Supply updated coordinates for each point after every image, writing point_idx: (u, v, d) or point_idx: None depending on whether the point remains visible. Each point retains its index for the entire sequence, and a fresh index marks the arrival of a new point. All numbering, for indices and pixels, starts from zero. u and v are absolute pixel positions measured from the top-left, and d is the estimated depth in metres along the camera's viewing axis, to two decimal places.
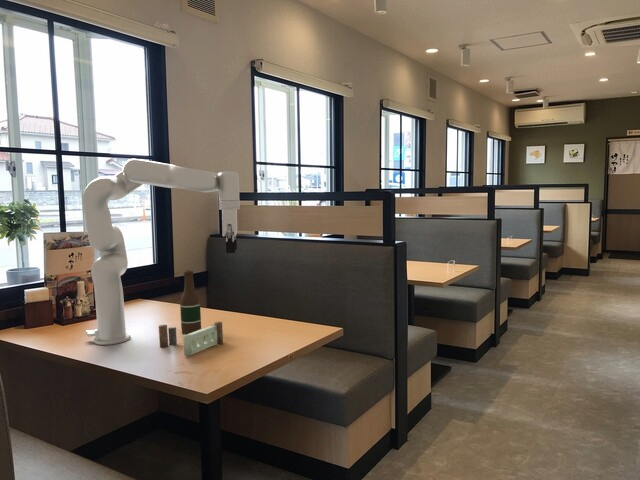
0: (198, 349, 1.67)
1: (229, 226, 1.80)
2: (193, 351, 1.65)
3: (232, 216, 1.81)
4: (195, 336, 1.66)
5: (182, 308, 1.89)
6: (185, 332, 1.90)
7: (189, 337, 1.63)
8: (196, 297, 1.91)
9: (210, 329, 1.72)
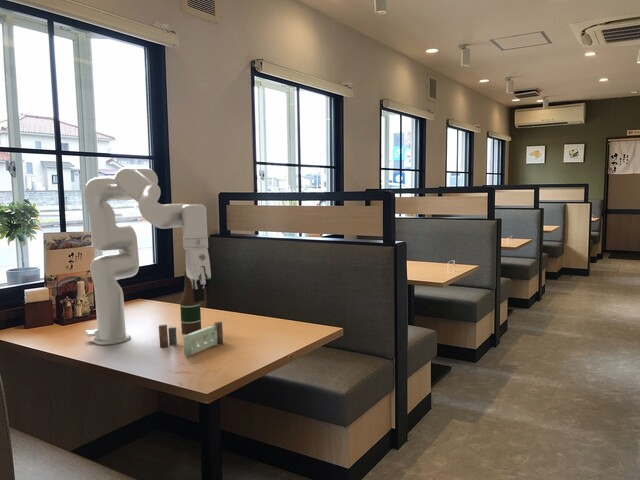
0: (198, 349, 1.67)
1: None
2: (193, 351, 1.65)
3: None
4: (195, 336, 1.66)
5: (182, 308, 1.89)
6: (185, 332, 1.90)
7: (189, 337, 1.63)
8: None
9: (210, 329, 1.72)
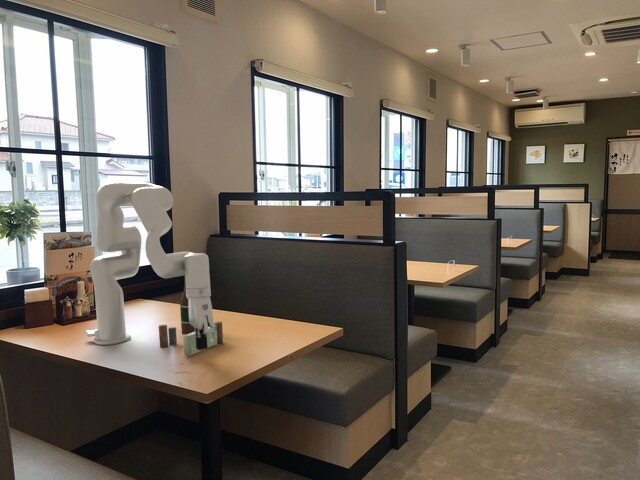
0: None
1: None
2: (193, 351, 1.65)
3: None
4: (195, 336, 1.66)
5: (182, 308, 1.89)
6: (185, 332, 1.90)
7: (189, 337, 1.63)
8: None
9: (210, 329, 1.72)
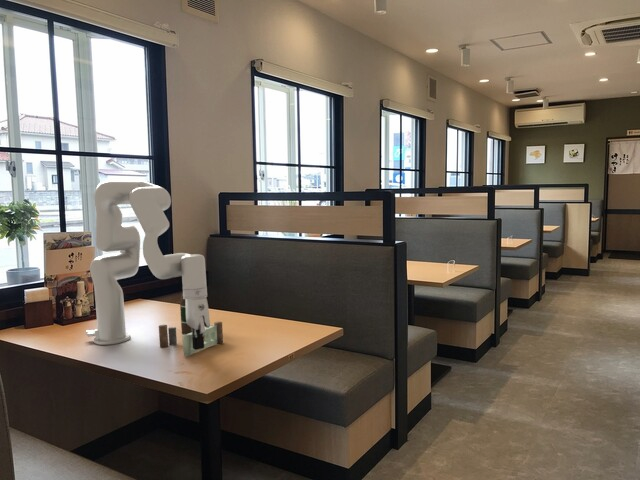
0: (197, 349, 1.67)
1: None
2: (192, 351, 1.65)
3: None
4: None
5: (182, 308, 1.89)
6: (185, 332, 1.90)
7: (188, 337, 1.63)
8: None
9: (210, 329, 1.72)
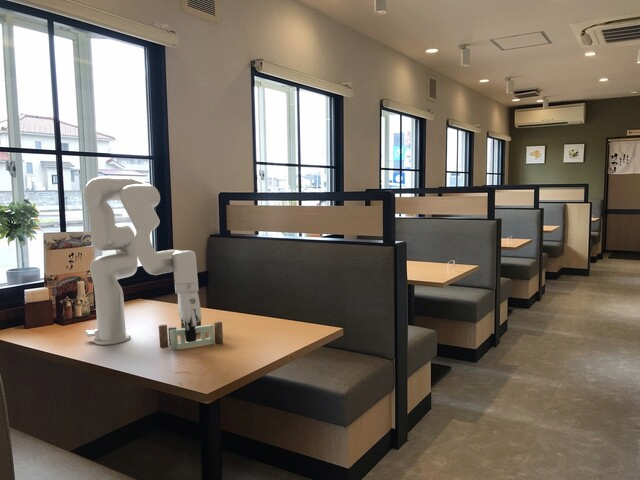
0: (186, 345, 1.72)
1: None
2: (179, 346, 1.71)
3: None
4: (182, 332, 1.71)
5: None
6: None
7: (173, 332, 1.69)
8: None
9: (204, 328, 1.74)
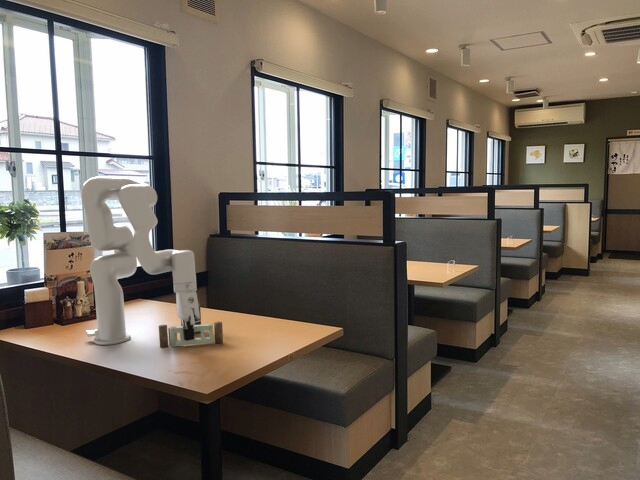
0: (185, 343, 1.74)
1: None
2: (178, 343, 1.74)
3: None
4: (181, 330, 1.74)
5: None
6: None
7: (172, 329, 1.73)
8: None
9: (203, 327, 1.75)
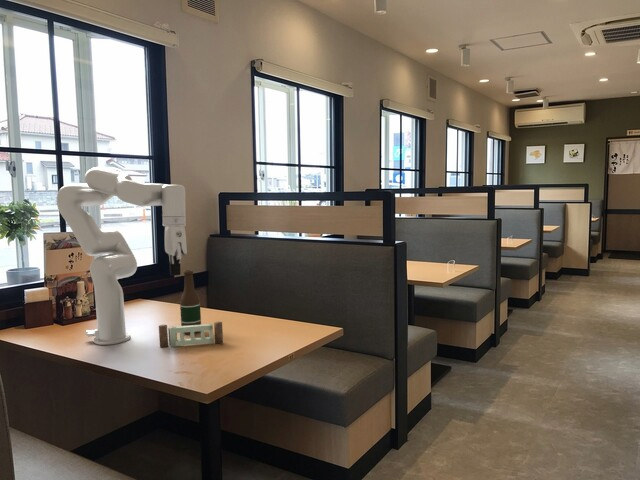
0: (185, 343, 1.74)
1: None
2: (178, 343, 1.74)
3: None
4: (181, 330, 1.74)
5: (182, 308, 1.89)
6: (185, 332, 1.90)
7: (172, 329, 1.73)
8: (196, 297, 1.91)
9: (203, 327, 1.75)
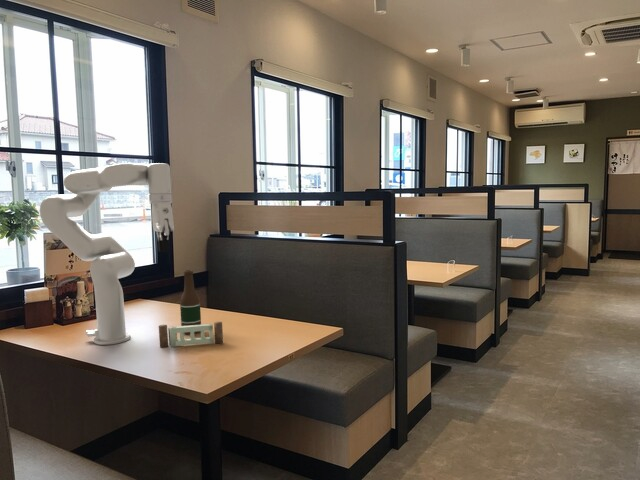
0: (185, 343, 1.74)
1: None
2: (178, 343, 1.74)
3: None
4: (181, 330, 1.74)
5: (182, 308, 1.89)
6: (185, 332, 1.90)
7: (172, 329, 1.73)
8: (196, 297, 1.91)
9: (203, 327, 1.75)
